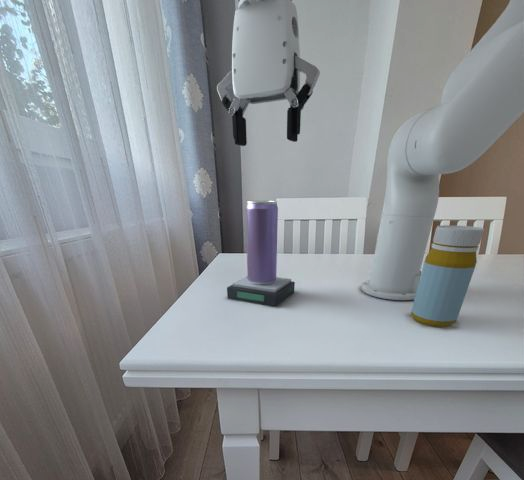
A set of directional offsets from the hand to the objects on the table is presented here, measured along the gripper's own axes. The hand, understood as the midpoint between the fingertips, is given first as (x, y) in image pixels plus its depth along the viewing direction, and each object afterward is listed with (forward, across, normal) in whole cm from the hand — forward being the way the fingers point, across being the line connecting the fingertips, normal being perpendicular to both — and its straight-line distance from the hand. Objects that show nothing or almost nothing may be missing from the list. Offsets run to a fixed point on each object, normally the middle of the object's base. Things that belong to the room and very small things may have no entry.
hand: (265, 142), depth 50 cm
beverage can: (+24, +1, +1) cm, 24 cm away
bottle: (+28, -32, 0) cm, 42 cm away
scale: (+27, +1, +1) cm, 27 cm away
